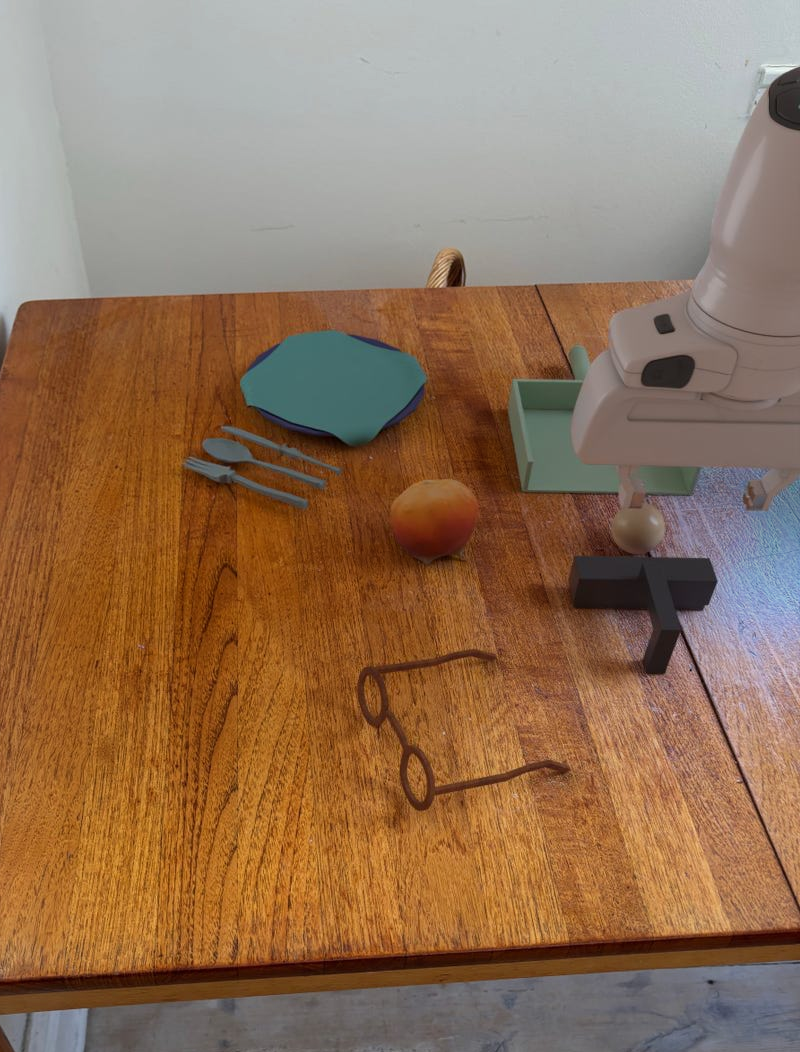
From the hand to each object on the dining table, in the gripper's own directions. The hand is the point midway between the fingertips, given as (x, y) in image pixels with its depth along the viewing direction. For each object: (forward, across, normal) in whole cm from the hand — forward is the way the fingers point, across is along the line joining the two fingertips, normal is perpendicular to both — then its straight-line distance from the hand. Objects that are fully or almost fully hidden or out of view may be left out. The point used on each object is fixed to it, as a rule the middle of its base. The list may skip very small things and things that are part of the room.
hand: (691, 504), depth 79 cm
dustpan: (+16, 0, -32) cm, 36 cm away
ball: (+16, -1, -13) cm, 20 cm away
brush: (+16, 0, -2) cm, 16 cm away
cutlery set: (+16, +30, -33) cm, 47 cm away
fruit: (+16, +18, -13) cm, 27 cm away
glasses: (+16, +17, +10) cm, 25 cm away
